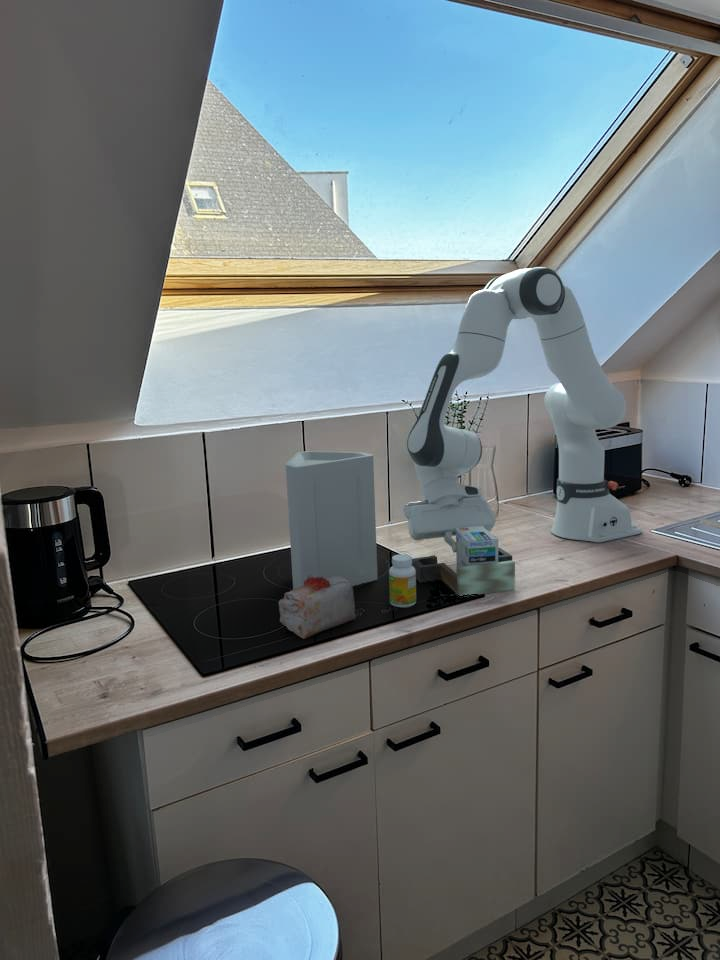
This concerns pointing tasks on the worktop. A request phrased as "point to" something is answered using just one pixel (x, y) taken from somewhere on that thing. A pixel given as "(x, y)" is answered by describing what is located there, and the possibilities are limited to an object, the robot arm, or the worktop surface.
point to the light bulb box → (475, 546)
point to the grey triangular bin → (332, 516)
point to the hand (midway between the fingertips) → (460, 550)
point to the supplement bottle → (402, 581)
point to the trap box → (469, 574)
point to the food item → (317, 605)
